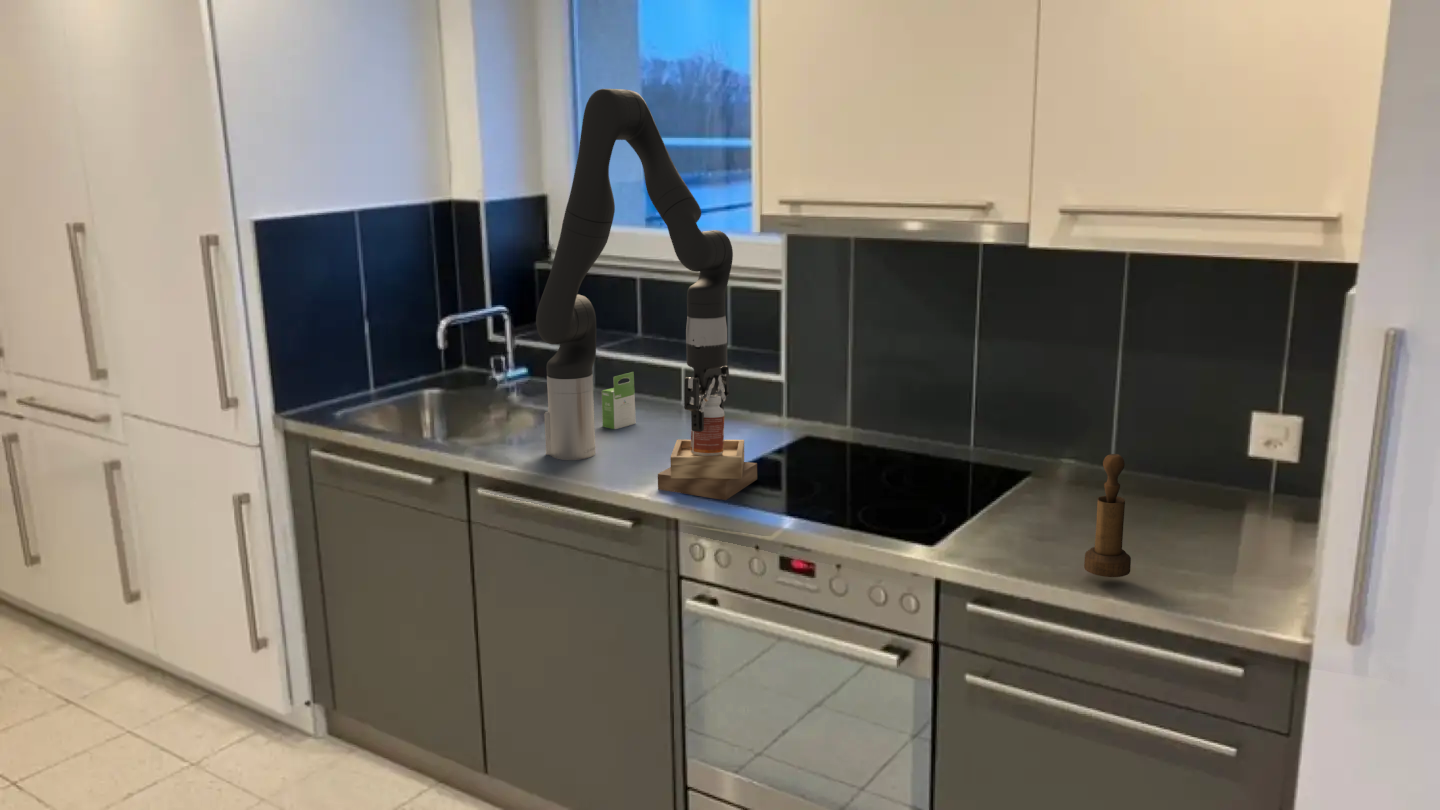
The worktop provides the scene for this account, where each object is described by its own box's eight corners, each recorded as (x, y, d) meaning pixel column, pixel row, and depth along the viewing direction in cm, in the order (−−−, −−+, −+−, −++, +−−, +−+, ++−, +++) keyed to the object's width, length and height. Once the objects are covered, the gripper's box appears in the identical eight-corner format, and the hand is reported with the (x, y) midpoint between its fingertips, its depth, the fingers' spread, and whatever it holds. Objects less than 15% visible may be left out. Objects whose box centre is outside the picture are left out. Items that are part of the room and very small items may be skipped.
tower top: (670, 478, 219) (670, 457, 218) (677, 459, 232) (677, 439, 231) (741, 478, 218) (741, 457, 217) (744, 459, 231) (744, 439, 230)
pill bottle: (729, 455, 224) (731, 397, 222) (701, 458, 221) (703, 399, 219) (711, 449, 229) (714, 392, 227) (684, 452, 226) (686, 394, 224)
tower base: (658, 494, 223) (657, 473, 222) (692, 475, 235) (691, 455, 234) (725, 503, 217) (725, 482, 216) (757, 483, 229) (757, 463, 228)
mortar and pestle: (1082, 574, 179) (1089, 458, 175) (1085, 560, 184) (1092, 447, 180) (1129, 579, 176) (1137, 462, 172) (1131, 565, 182) (1138, 451, 178)
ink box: (623, 427, 272) (621, 369, 269) (636, 430, 269) (634, 371, 266) (602, 433, 267) (600, 374, 264) (615, 436, 264) (613, 376, 261)
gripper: (705, 333, 228) (706, 416, 231) (670, 345, 215) (672, 432, 219) (741, 335, 224) (741, 419, 228) (708, 348, 212) (709, 436, 216)
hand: (707, 426), depth 223 cm, fingers open, 8 cm apart
